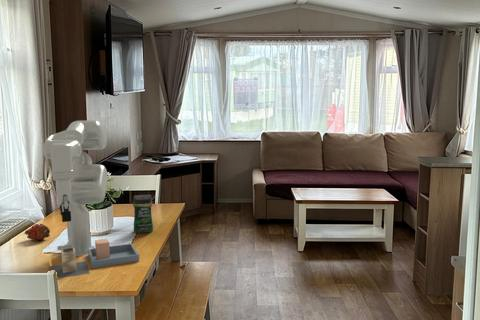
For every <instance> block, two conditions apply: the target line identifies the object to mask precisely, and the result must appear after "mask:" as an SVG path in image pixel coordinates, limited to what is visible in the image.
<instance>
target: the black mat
mask: <svg viewBox="0 0 480 320" xmlns="http://www.w3.org/2000/svg"><path fill="white" fill-rule="evenodd" d="M87 263H88V262H87V261H86V260H84V261H76V269H77V271H73V272H66V273H63V269H62V264H57V265H52V266H51V265H50V266H49V271H50V270H55V271H56V272H57V277H58V278H57V279H61V278H62V279H63V278H69V277H76V276H82V275H88V274H90V270H89V267H88V264H87Z"/></svg>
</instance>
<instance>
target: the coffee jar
mask: <svg viewBox="0 0 480 320" xmlns="http://www.w3.org/2000/svg"><path fill="white" fill-rule="evenodd" d="M152 205H153V199H152V195H151V194H138V195H136V194H135V195H134V196H133V198H132V206H133V208H134V210H133V211H134V218H133V219H134V220H133V231H134V233H136V234H145V233H151V232H153V230H154V224H153V216H152Z"/></svg>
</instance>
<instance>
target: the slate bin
mask: <svg viewBox="0 0 480 320" xmlns="http://www.w3.org/2000/svg"><path fill="white" fill-rule="evenodd" d="M109 249H110V258H108V259H101V260H97V259H96V247H95V248H93V249H88V254H87V256H88V258H89V260H90V264H91V267H92V269H96V268H101V267H109V266H114V265H115V266H116V265H122V264H129V263H136V262H140V254H139V253H138V250H137V249H136V247H135V245H134V244H133V243H131V242H130V243H125V244H124V243H123V244H116V245H109Z"/></svg>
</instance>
